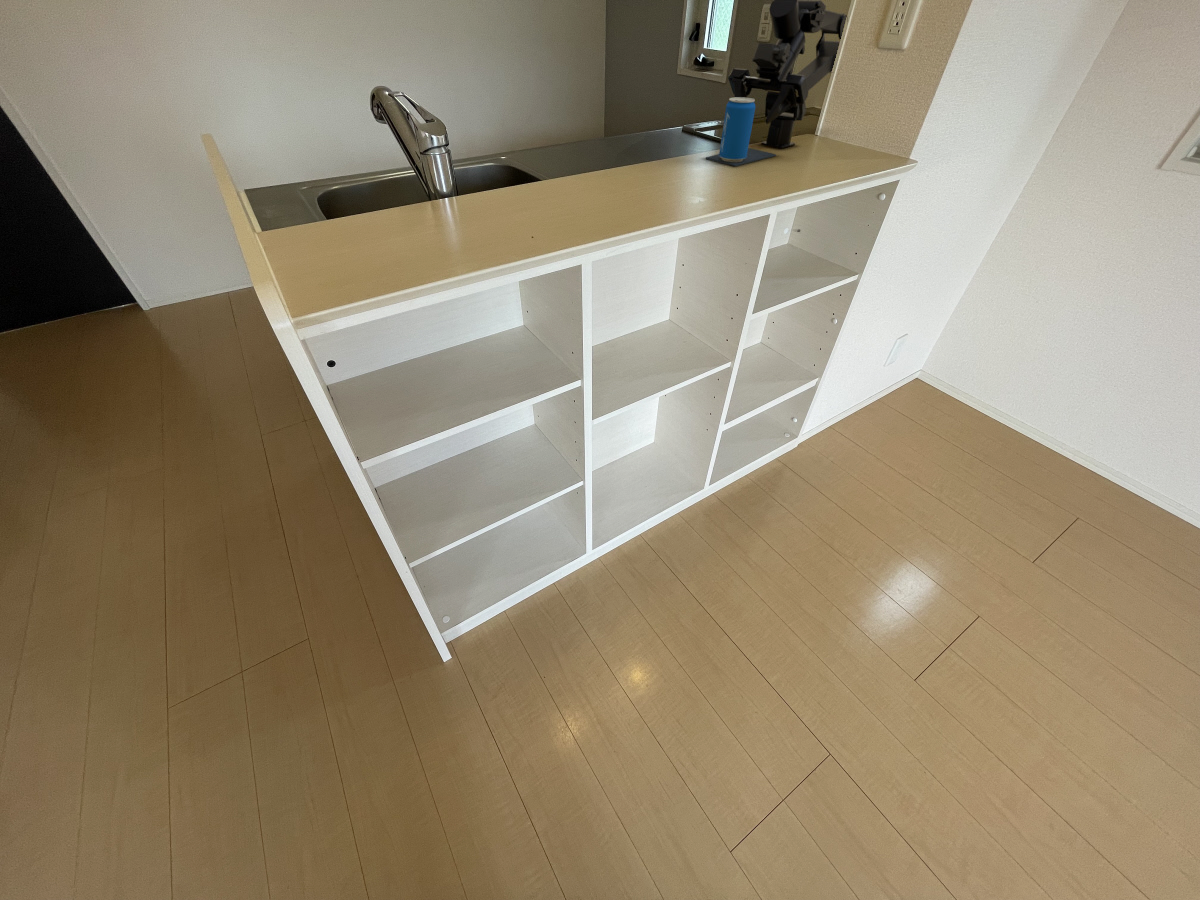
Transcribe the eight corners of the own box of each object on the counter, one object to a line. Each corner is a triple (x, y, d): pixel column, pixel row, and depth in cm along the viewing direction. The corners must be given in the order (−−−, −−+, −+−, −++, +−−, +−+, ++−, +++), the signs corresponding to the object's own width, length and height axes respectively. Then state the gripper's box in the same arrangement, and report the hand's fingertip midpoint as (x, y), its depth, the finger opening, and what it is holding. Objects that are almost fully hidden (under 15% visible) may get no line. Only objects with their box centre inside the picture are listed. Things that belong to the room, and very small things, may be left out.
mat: (746, 149, 130) (747, 147, 130) (775, 156, 125) (776, 154, 125) (705, 159, 123) (705, 157, 123) (734, 166, 118) (735, 164, 118)
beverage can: (714, 157, 123) (722, 97, 114) (738, 155, 124) (748, 96, 116) (725, 163, 118) (735, 102, 110) (750, 162, 119) (762, 101, 111)
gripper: (740, 23, 115) (705, 88, 116) (817, 27, 105) (779, 98, 107) (750, 64, 124) (718, 123, 126) (823, 71, 115) (787, 135, 117)
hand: (749, 119), depth 119 cm, fingers open, 9 cm apart
